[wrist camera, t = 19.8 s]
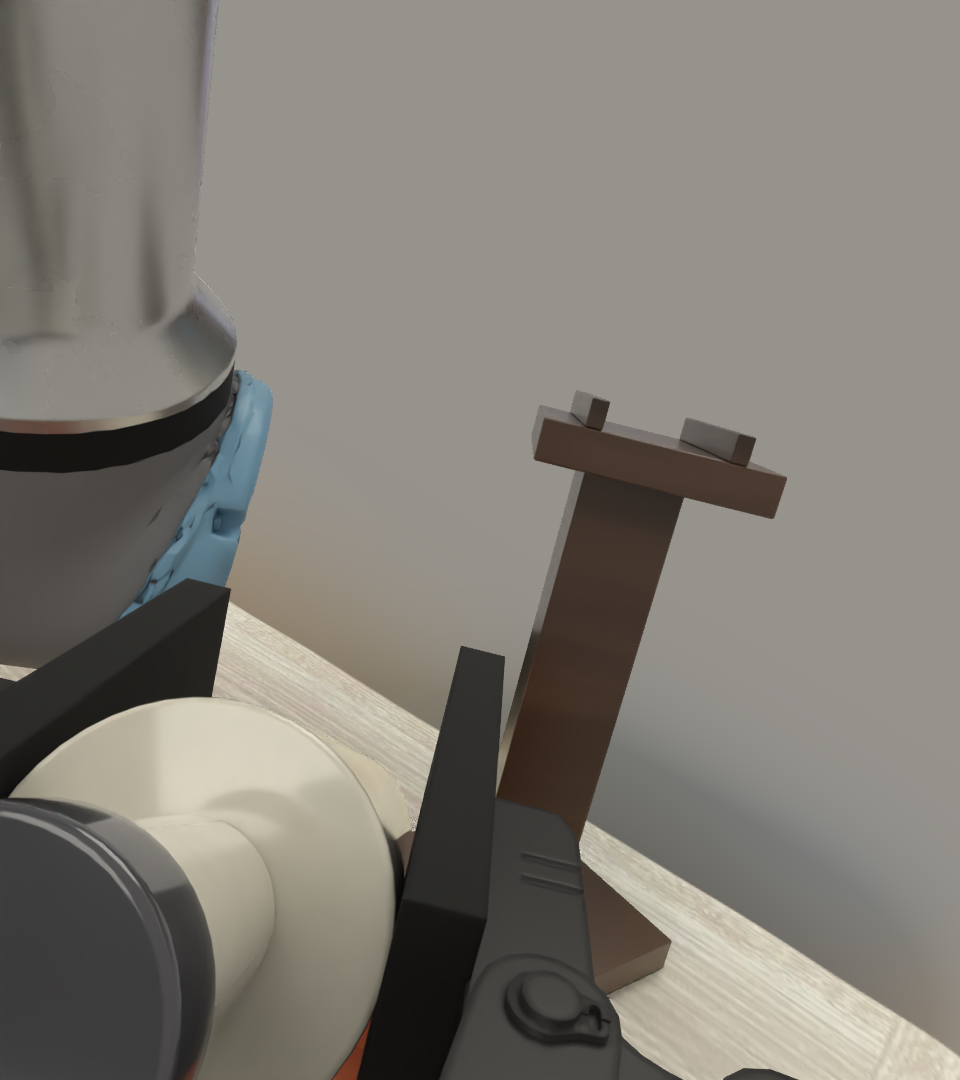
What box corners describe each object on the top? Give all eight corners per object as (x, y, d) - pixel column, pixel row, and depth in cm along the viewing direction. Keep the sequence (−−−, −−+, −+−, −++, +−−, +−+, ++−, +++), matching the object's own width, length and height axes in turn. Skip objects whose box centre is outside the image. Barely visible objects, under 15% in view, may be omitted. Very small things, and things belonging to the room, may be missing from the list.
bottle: (217, 905, 18) (269, 729, 19) (387, 946, 18) (429, 768, 19) (-798, 1517, 3) (-274, 543, 4) (217, 1750, 3) (455, 718, 4)
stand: (695, 1108, 30) (927, 480, 25) (297, 1008, 30) (443, 360, 25) (637, 860, 45) (774, 438, 40) (373, 794, 45) (474, 364, 40)
